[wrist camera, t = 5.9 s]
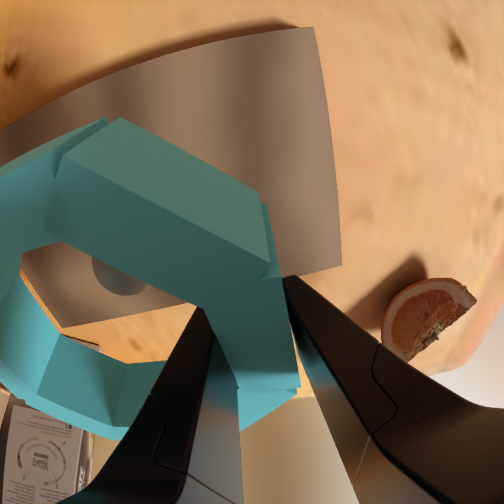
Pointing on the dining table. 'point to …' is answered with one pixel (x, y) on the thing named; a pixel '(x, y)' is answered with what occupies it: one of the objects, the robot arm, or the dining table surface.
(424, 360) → the dining table surface
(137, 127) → the teal octagonal ring
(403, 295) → the fruit slice
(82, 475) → the coffee box
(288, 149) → the hook board
